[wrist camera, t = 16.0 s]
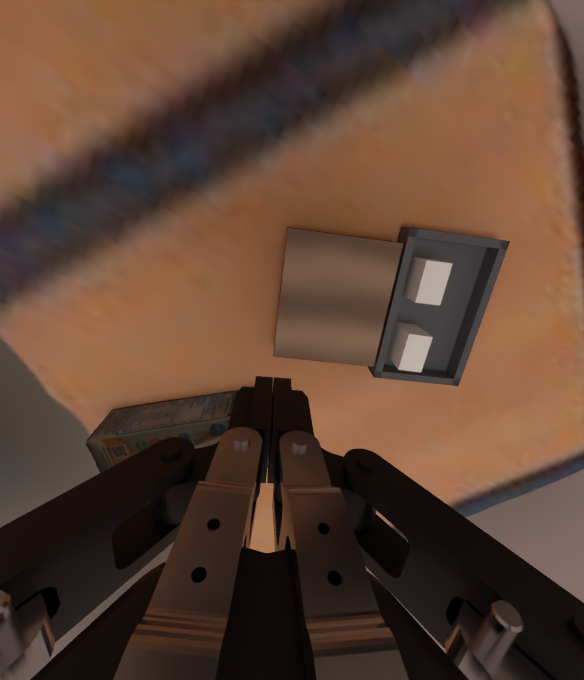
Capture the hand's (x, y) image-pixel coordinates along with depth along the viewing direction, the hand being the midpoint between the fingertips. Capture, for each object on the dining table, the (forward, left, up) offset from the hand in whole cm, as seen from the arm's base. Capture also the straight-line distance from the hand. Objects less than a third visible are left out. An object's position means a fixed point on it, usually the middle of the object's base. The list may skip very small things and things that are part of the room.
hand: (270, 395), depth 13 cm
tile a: (-3, +13, -19) cm, 23 cm away
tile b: (+4, +13, -19) cm, 24 cm away
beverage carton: (+18, -9, -22) cm, 30 cm away
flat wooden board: (0, +6, -22) cm, 23 cm away
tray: (0, +17, -22) cm, 27 cm away
